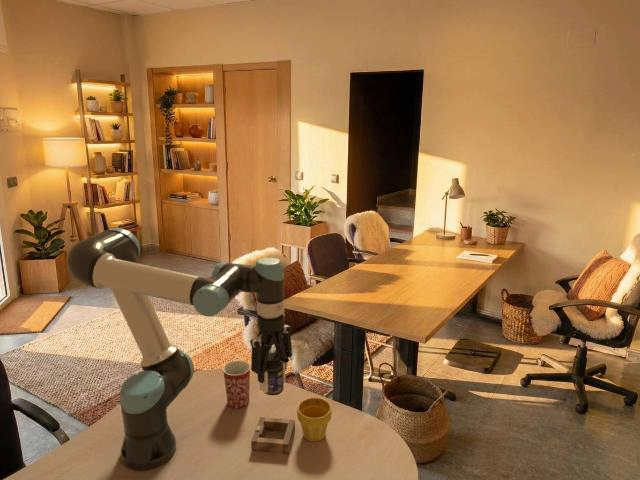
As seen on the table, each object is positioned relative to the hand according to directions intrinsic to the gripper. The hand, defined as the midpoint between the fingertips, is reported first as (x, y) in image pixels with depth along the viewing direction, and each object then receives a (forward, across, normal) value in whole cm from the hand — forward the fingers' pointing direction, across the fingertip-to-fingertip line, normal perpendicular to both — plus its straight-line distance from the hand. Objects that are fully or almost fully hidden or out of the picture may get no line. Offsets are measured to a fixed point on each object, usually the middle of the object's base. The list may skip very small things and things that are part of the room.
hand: (272, 385), depth 142 cm
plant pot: (+19, +10, -7) cm, 23 cm away
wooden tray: (+19, 0, 0) cm, 19 cm away
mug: (+19, +6, +24) cm, 31 cm away
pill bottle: (+2, 0, 0) cm, 2 cm away
